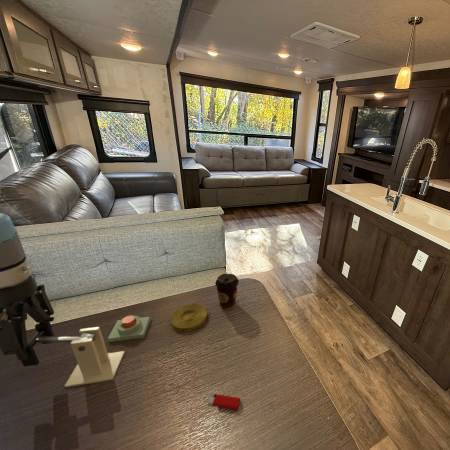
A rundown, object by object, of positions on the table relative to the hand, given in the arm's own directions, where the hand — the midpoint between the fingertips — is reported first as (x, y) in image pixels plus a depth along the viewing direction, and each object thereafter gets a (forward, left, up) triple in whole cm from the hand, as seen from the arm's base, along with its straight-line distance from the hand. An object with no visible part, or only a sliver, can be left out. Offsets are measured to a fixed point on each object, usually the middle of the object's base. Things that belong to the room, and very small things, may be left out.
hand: (40, 352), depth 65 cm
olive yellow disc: (+25, +27, -10) cm, 38 cm away
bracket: (+10, +4, -9) cm, 14 cm away
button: (+9, +18, -6) cm, 21 cm away
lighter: (+49, +2, -10) cm, 50 cm away
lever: (+5, +2, +2) cm, 6 cm away
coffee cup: (+35, +38, -10) cm, 53 cm away
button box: (+9, +18, -9) cm, 22 cm away
